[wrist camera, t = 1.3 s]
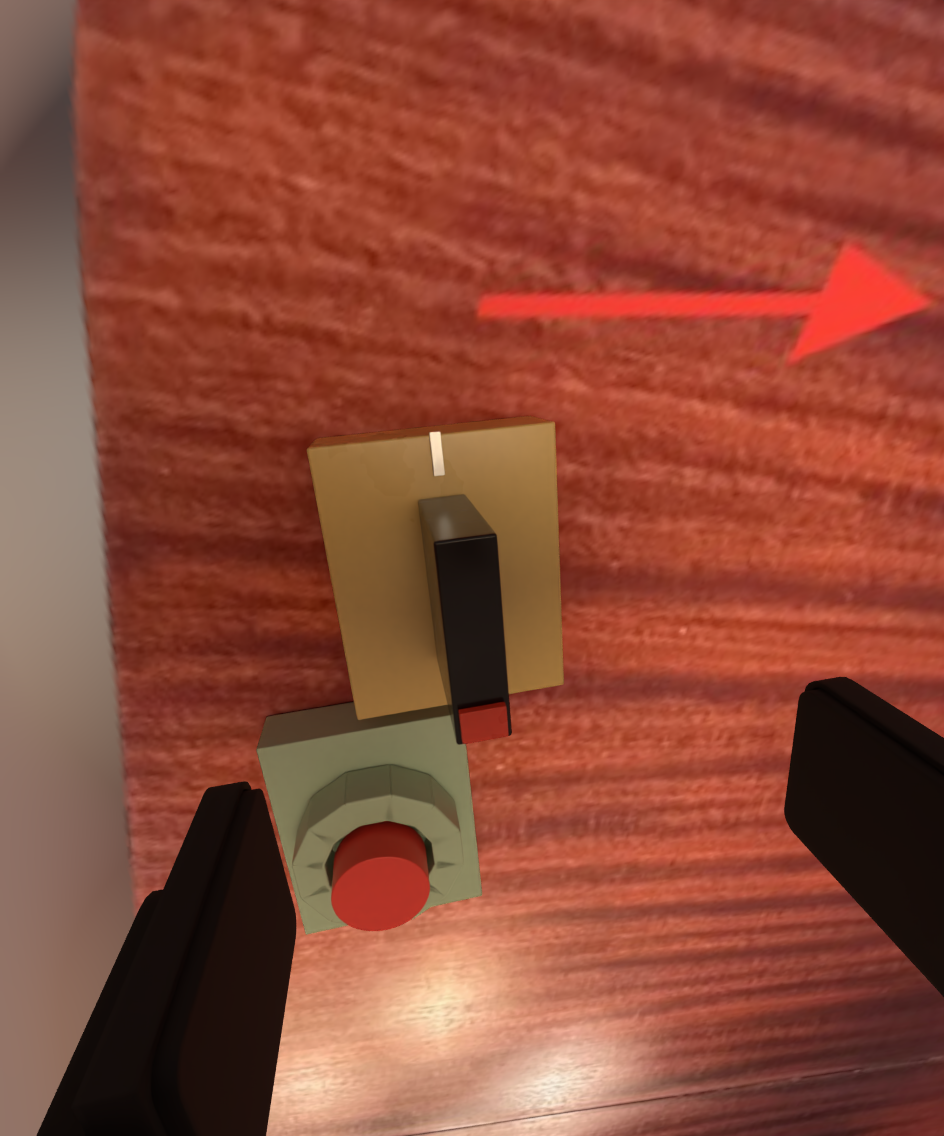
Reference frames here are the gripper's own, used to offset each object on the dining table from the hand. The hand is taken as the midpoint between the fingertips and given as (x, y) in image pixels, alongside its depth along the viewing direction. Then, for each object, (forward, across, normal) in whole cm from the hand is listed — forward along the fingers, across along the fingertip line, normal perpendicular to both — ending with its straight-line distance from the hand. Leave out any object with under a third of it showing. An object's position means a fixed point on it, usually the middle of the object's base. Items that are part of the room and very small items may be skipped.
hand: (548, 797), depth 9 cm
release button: (+10, +4, +11) cm, 15 cm away
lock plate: (+14, 0, 0) cm, 14 cm away
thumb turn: (+10, 0, 0) cm, 10 cm away
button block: (+14, +4, +11) cm, 18 cm away
